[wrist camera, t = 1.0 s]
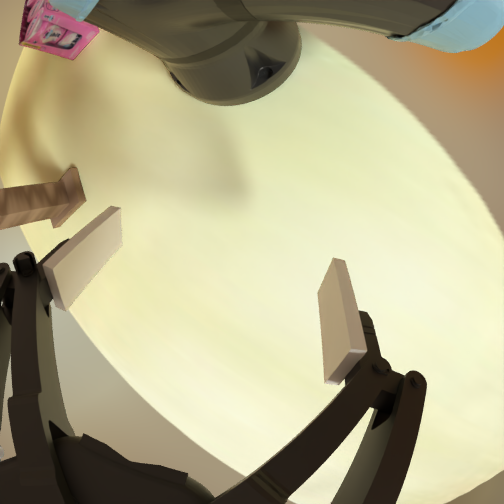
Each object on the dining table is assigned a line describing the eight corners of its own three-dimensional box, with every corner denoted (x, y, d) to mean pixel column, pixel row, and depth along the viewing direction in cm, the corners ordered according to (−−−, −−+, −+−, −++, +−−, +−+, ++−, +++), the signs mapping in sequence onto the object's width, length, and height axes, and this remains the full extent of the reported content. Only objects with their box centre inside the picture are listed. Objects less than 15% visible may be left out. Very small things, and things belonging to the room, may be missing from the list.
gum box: (102, 34, 28) (44, 13, 16) (74, 65, 31) (17, 52, 19) (88, -11, 26) (47, -29, 14) (65, 13, 29) (24, 0, 17)
